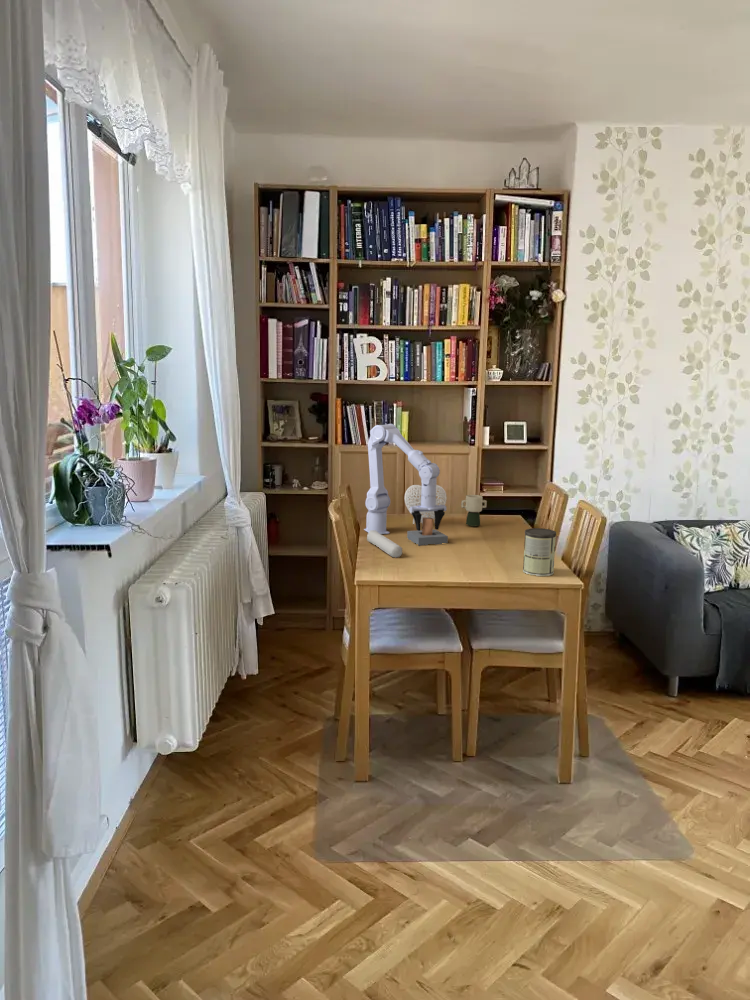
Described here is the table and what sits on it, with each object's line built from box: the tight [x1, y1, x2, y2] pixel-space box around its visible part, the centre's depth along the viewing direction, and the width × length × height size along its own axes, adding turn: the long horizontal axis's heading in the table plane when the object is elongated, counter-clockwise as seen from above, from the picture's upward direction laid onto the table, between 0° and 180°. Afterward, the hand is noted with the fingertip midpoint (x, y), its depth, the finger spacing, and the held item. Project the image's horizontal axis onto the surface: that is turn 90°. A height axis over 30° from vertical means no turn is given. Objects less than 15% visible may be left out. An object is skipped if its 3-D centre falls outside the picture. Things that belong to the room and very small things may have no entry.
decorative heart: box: [404, 484, 448, 525], centre depth 328 cm, size 18×11×17 cm, turn 95°
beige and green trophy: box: [460, 494, 488, 527], centre depth 327 cm, size 11×7×13 cm, turn 96°
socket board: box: [406, 529, 449, 546], centre depth 299 cm, size 12×12×3 cm
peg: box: [421, 516, 434, 536], centre depth 298 cm, size 4×4×9 cm
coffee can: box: [522, 527, 557, 577], centre depth 256 cm, size 10×10×14 cm
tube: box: [366, 530, 403, 559], centre depth 283 cm, size 5×5×25 cm
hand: (427, 529), depth 298 cm, fingers open, 7 cm apart
